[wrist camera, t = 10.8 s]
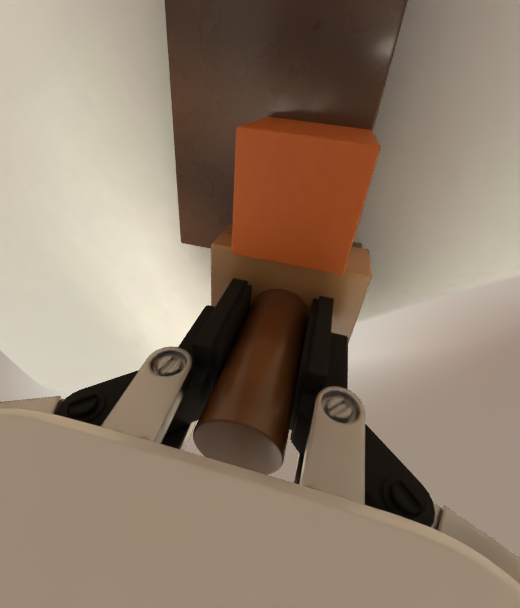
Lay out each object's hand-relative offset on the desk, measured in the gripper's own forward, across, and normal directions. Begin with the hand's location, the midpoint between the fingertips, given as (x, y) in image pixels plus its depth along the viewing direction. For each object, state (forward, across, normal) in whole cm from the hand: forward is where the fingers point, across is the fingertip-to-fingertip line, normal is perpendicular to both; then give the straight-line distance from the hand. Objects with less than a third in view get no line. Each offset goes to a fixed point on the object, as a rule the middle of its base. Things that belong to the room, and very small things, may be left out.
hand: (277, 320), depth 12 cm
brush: (+4, 0, 0) cm, 4 cm away
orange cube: (+2, 0, -4) cm, 5 cm away
